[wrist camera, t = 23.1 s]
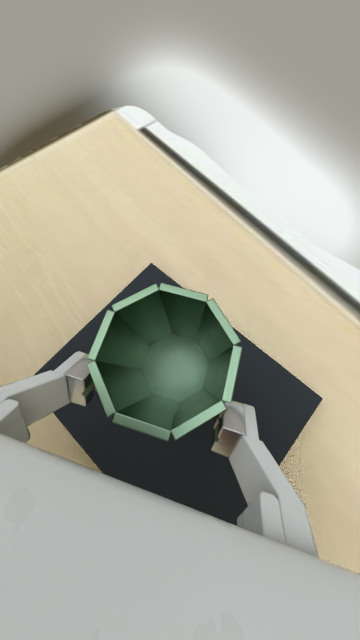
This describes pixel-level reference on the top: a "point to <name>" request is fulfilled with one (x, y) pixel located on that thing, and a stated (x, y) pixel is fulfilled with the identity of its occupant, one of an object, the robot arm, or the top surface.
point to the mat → (195, 447)
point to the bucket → (164, 361)
